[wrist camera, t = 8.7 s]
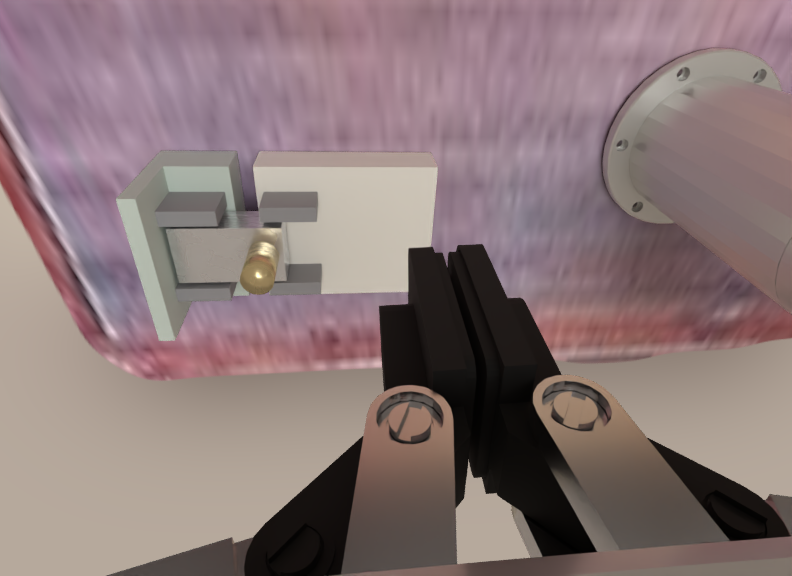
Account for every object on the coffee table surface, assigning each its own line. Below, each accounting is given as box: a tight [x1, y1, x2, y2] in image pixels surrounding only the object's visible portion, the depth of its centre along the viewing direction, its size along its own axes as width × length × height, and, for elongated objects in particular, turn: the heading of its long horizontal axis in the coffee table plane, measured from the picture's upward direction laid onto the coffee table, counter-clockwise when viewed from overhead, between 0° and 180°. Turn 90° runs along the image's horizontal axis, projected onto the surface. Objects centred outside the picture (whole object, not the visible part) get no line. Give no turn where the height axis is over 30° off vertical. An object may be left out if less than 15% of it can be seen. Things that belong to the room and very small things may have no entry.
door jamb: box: [116, 151, 250, 341], centre depth 32 cm, size 5×10×8 cm, turn 178°
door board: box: [253, 151, 438, 295], centre depth 34 cm, size 12×10×6 cm
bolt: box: [166, 211, 290, 295], centre depth 31 cm, size 7×4×6 cm, turn 88°
